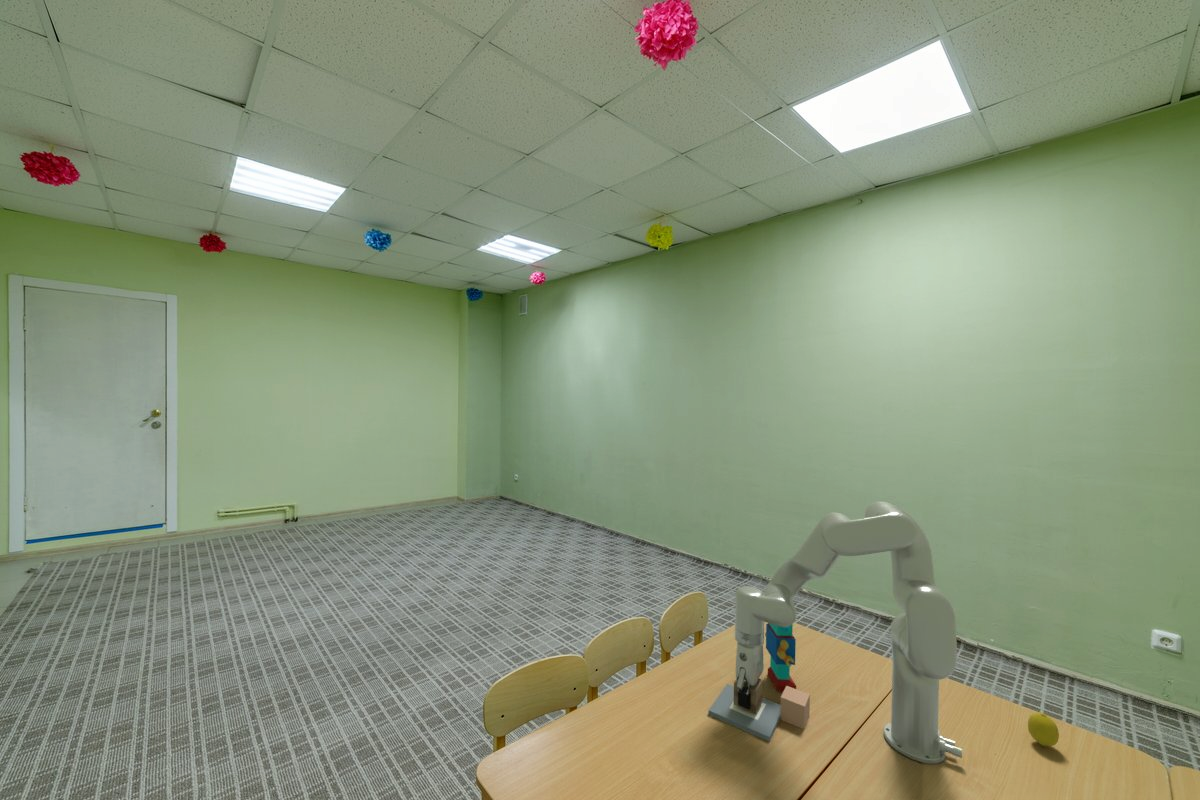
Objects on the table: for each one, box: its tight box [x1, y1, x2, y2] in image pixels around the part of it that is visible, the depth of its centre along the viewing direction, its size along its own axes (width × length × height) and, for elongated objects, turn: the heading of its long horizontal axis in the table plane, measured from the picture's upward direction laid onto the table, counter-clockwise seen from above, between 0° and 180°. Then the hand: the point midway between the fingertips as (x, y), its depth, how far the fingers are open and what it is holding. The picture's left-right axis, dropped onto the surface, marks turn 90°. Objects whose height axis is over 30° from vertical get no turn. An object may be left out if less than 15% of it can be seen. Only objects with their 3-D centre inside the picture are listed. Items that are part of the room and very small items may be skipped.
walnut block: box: [733, 678, 764, 714], centre depth 124 cm, size 6×6×6 cm
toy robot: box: [764, 623, 797, 692], centre depth 136 cm, size 12×6×25 cm, turn 179°
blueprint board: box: [707, 683, 781, 742], centre depth 123 cm, size 16×14×1 cm
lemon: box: [1027, 712, 1060, 747], centre depth 112 cm, size 6×6×8 cm
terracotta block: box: [780, 686, 811, 730], centre depth 121 cm, size 6×6×6 cm
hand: (748, 699), depth 124 cm, fingers closed on walnut block, 5 cm apart
